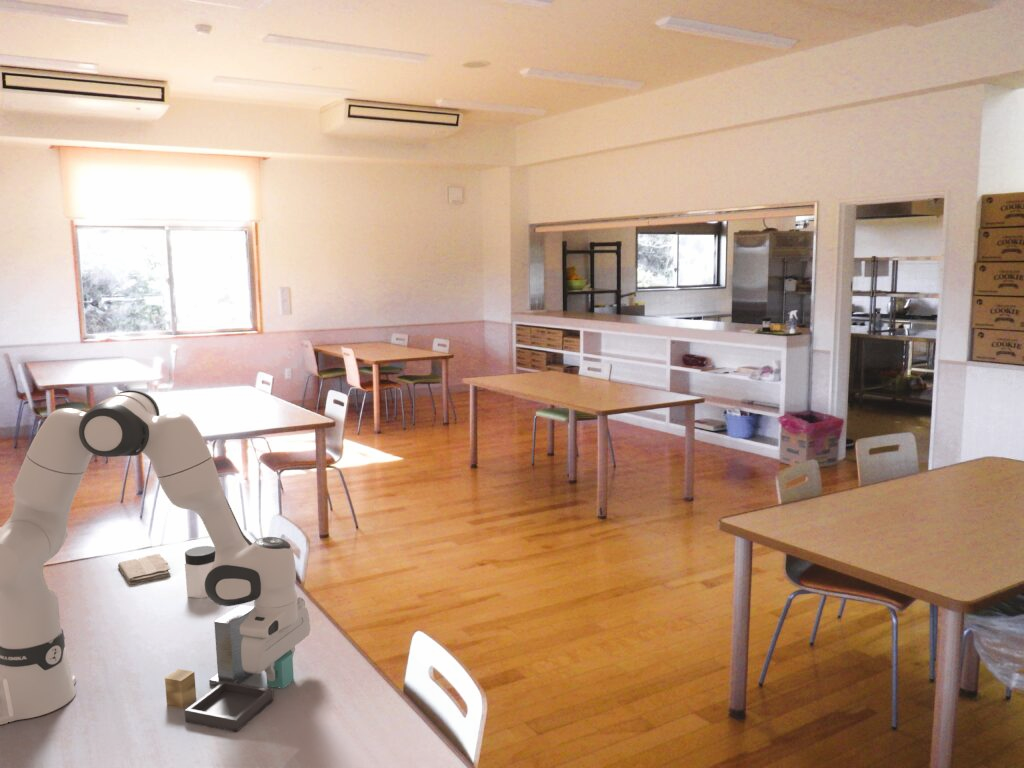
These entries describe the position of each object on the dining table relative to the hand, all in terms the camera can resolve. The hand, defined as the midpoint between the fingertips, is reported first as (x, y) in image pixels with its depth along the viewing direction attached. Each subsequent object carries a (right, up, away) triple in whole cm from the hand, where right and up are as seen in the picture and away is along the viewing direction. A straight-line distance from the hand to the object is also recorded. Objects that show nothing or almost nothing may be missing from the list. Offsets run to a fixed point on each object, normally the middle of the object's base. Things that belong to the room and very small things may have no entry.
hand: (279, 673), depth 178 cm
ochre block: (-18, -4, -7) cm, 20 cm away
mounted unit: (-10, -2, +4) cm, 11 cm away
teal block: (0, -2, 0) cm, 2 cm away
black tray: (-7, -4, -11) cm, 14 cm away
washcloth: (-58, +6, +65) cm, 88 cm away
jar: (-35, +5, +50) cm, 61 cm away
